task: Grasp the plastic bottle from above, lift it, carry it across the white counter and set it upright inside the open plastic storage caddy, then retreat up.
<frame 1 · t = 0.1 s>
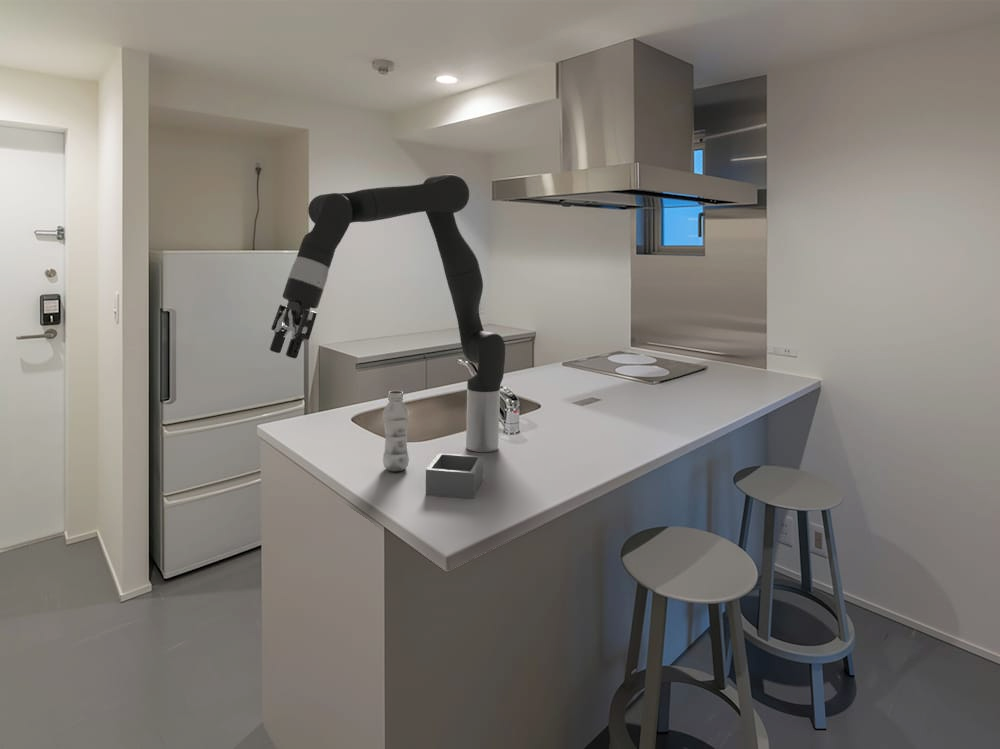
hand: (282, 354, 126), 31 cm above the worktop, tool tilted 20°, fingers open, 8 cm apart
plastic bottle: (396, 470, 149), on the worktop
storage caddy: (455, 487, 139), on the worktop
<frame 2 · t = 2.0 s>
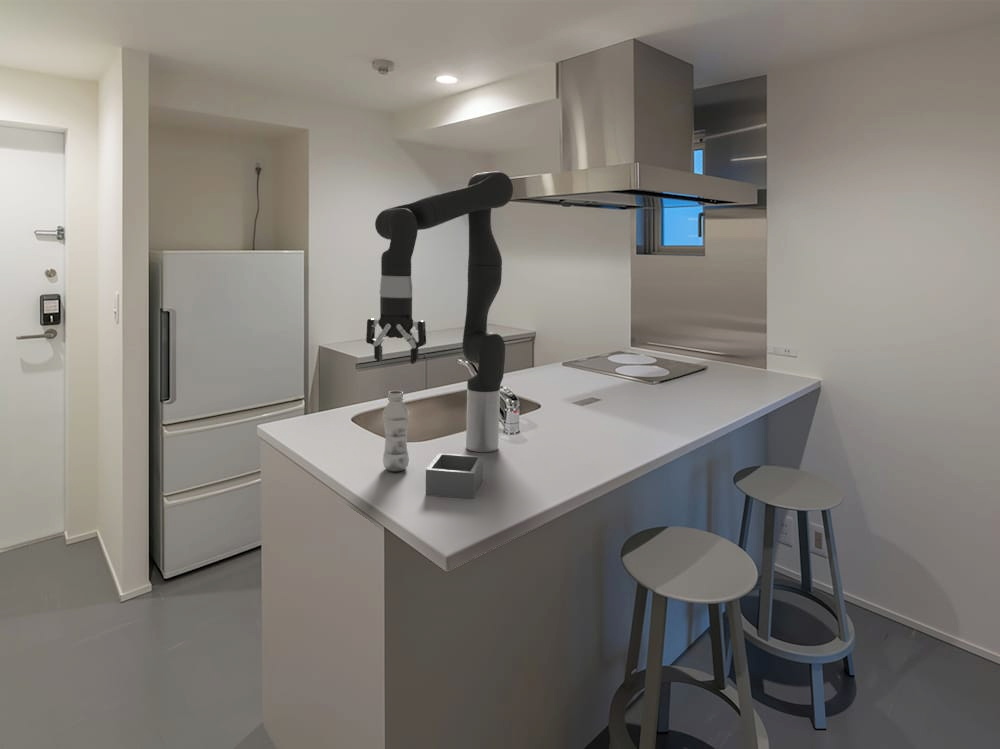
hand: (396, 362, 144), 27 cm above the worktop, tool pointing down, fingers open, 8 cm apart
nothing on the worktop moved.
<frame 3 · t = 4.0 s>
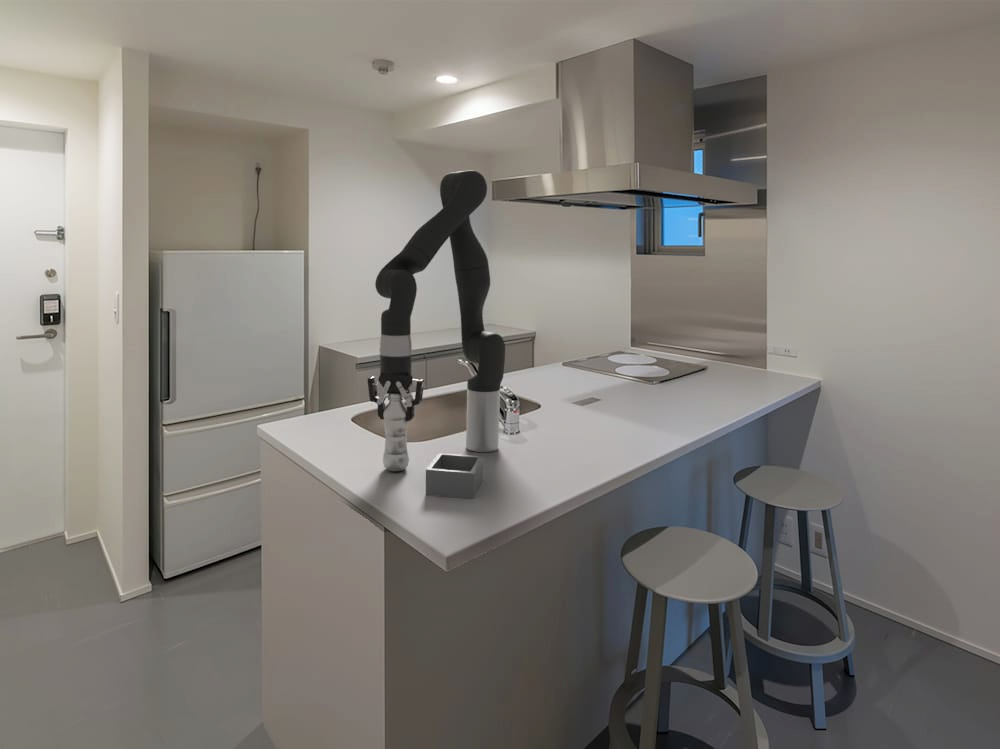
hand: (395, 419, 147), 13 cm above the worktop, tool pointing down, fingers closed on plastic bottle, 6 cm apart
plastic bottle: (396, 470, 149), on the worktop, touching gripper
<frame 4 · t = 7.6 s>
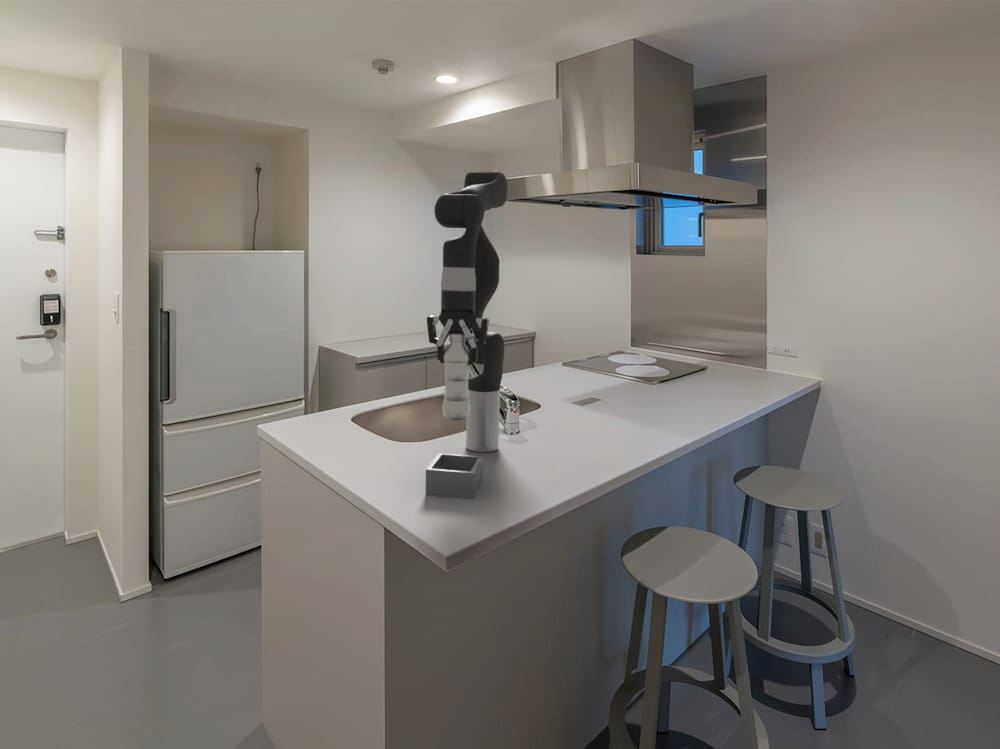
hand: (457, 362, 133), 30 cm above the worktop, tool pointing down, fingers closed on plastic bottle, 6 cm apart
plastic bottle: (456, 420, 136), point 16 cm above the worktop, touching gripper
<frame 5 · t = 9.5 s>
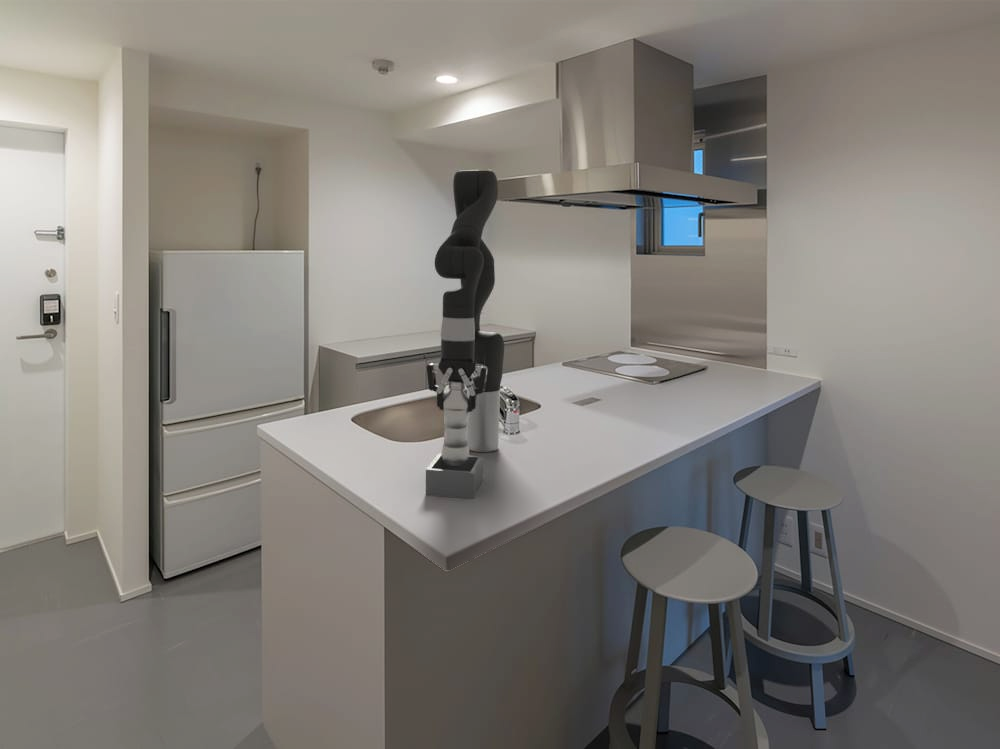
hand: (456, 409, 136), 19 cm above the worktop, tool pointing down, fingers closed on plastic bottle, 6 cm apart
plastic bottle: (455, 465, 138), point 5 cm above the worktop, touching gripper
when the fingers open (16 cm above the worktop, at t = 11.2 s): plastic bottle drops 1 cm, resting on storage caddy.
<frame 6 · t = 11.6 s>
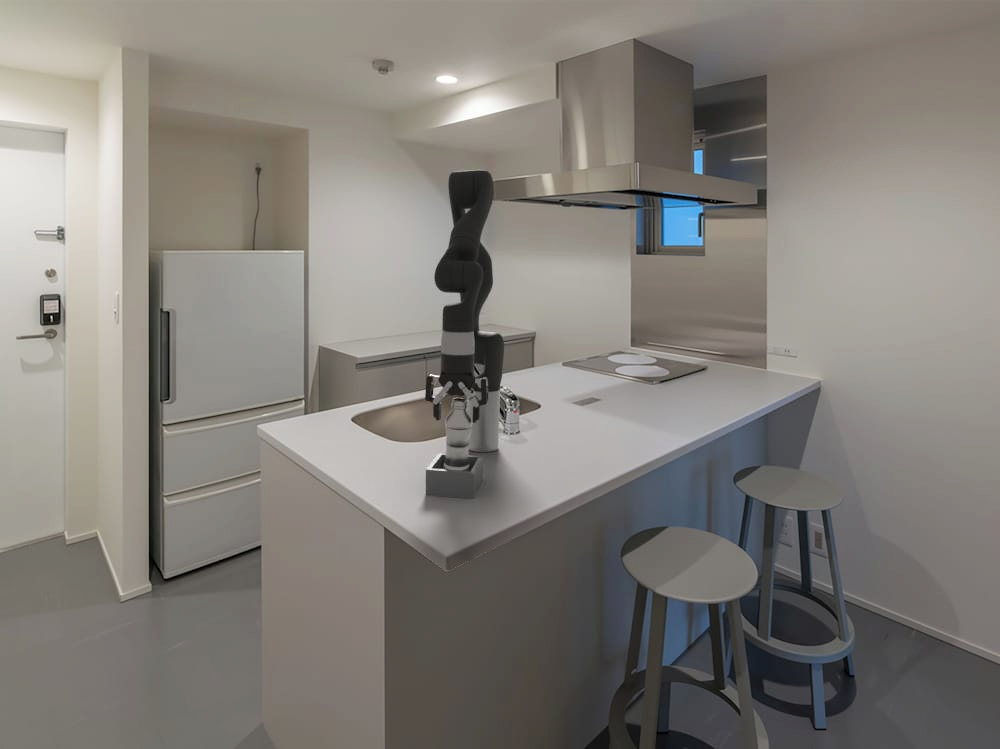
hand: (456, 420, 136), 16 cm above the worktop, tool pointing down, fingers open, 8 cm apart
plastic bottle: (455, 483, 139), point 1 cm above the worktop, touching storage caddy
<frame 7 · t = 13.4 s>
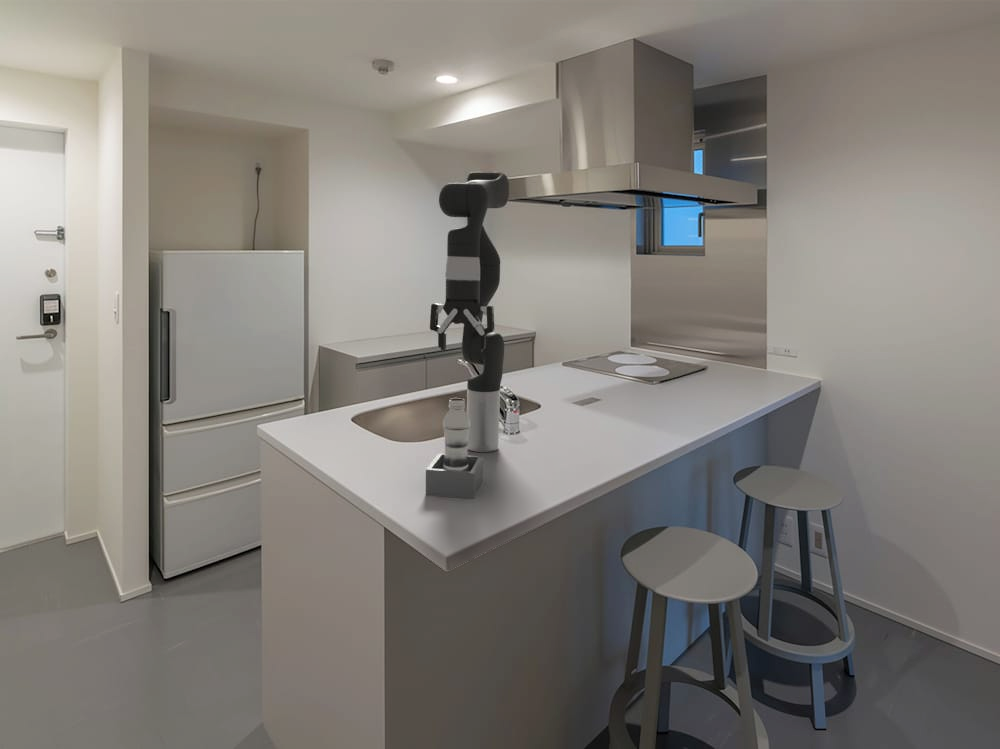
hand: (461, 350, 133), 32 cm above the worktop, tool pointing down, fingers open, 8 cm apart
nothing on the worktop moved.
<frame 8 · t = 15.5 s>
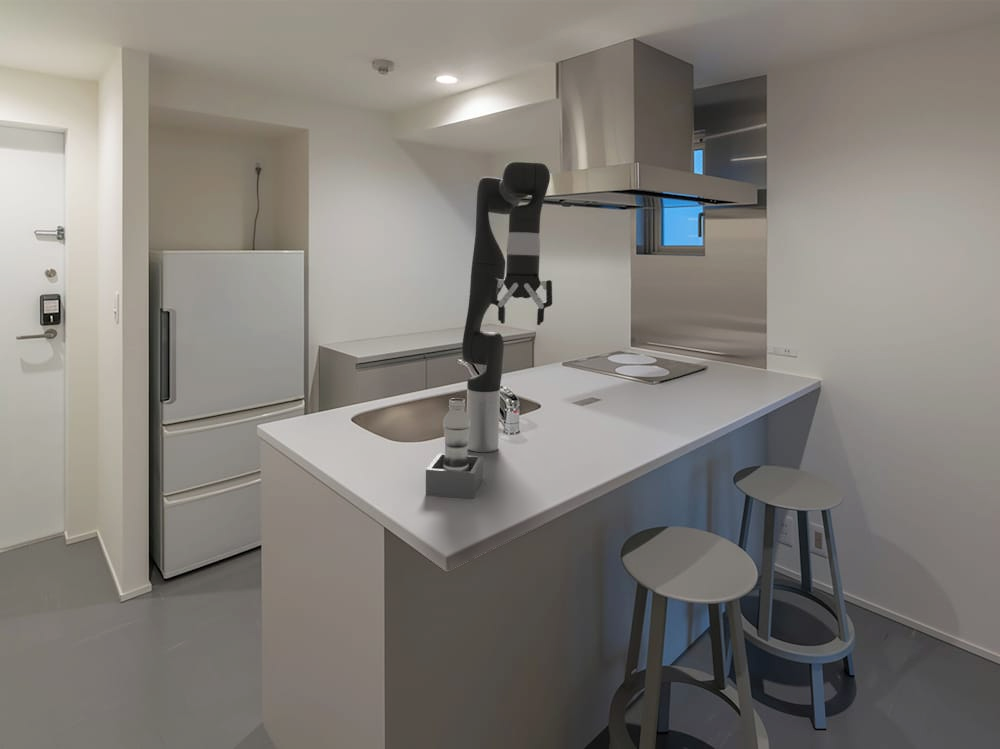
hand: (520, 324, 139), 38 cm above the worktop, tool pointing down, fingers open, 8 cm apart
nothing on the worktop moved.
at the end: plastic bottle 0.1 cm off-centre on the storage caddy, point 0.8 cm above the storage caddy's base; plastic bottle tilted 0°; the gripper is holding nothing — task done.
